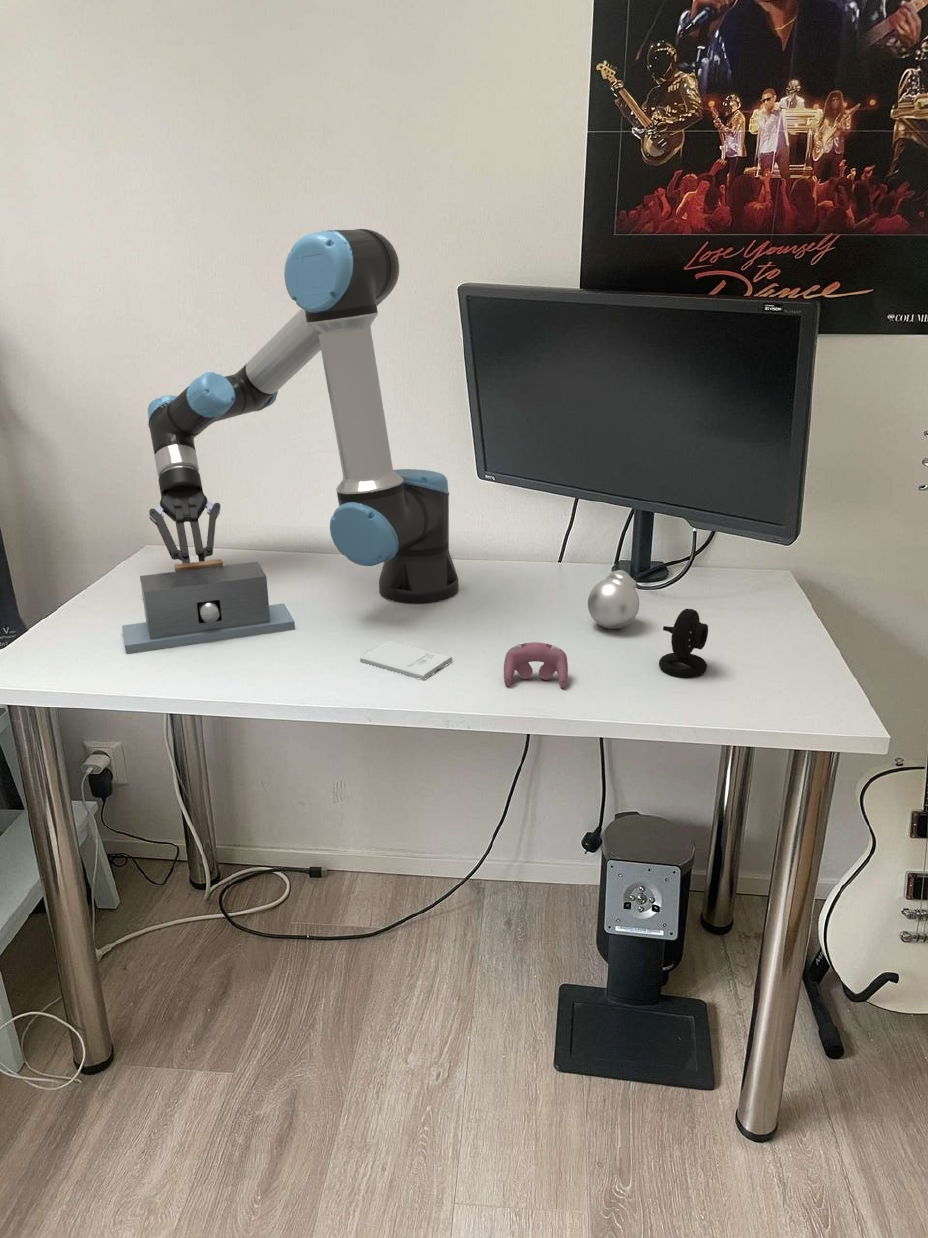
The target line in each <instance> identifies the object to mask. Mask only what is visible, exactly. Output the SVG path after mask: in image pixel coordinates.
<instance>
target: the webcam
mask: <svg viewBox="0 0 928 1238" xmlns="http://www.w3.org/2000/svg"><path fill="white" fill-rule="evenodd" d="M662 631H665V632H667V633H670V634H671V641H670V642H671V650H672V652H669V653H666V654H665V655H663V656H661V657H660V659H659V661H658V666H659V668H660V670H662V672H664V673H666V674H667V675H669V676H671V677H675V678H683V677H684V679H686V678H687V679H689V677H690V678H696V677H700V676H702V675H703V674H705V673H706V672H707V670H708V669H707V668H708V664H707V662H706V661H705V659H704V658H703V657H702V656H699V655H697V654H694V653H692V652H693V650H694V649H697V650H702V649H703V648H705V645H706V642H707V640H708V634H709V626H708V624H707V623H703V622H701V621H700V615H699V612H698V611H697V610H695V609H693V608H685V609H684V608H683V610H682V611H681V612H680V613H679V614H678V615H677V618H676V620H675V622H674V624H673V626H665V625H663V627H662ZM670 663H678V664H683V665H685V666H688V668H683V667H682V668H681V667H677V666H674V665H671V664H670Z"/></svg>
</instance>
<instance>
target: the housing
mask: <svg viewBox="0 0 928 1238" xmlns="http://www.w3.org/2000/svg"><path fill="white" fill-rule="evenodd" d="M267 579H268V578H267V575H266V573H265V572H264V570H263V568H262V567H261V564H260V563H259V561H251V562H243V563H234V564H228V565H227V564H226V565H223V566H217V567H209V568H201V569H193V570H185V571H177V572H175V571H171V572H169V571H168V572H160V573H154V574H146V575H145V574H144V575H139V580H140V587H141V596H142V602H143V603H142V604H143V610H144V616H145V622H139V623H131V624H122V625H121V628H122V635H123V640H124V647H125V652H126V655H127V654H135V653H140V652H142V653H143V652H148V651H154V650H162V649H169V648H176V647H177V648H178V647H183V646H188V645H189V646H190V645H198V644H204V643H210V642H217V641H223V640H224V641H225V640H229V639H232V640H233V639H237V638H238V639H239V638H243V637H244V638H245V637H252V636H257V635H264V634H265V633H266V634H273V633H278V632H279V631H280V632H285V631H292V630H296V622H295V620H294V617H293V616H292V615H291V613H290V611H289V610H288V608H287V606H286V604H285V603H284V602H283V603H276V604H270V603H269V591H268V580H267ZM214 600H215V603H216V605H217V608H218V610H219V613H220V615H219V618H218V619H217V620H216V621H215V622H212V623H208V622H205V621H204V620H203V619H202V617H201V614H200V612H199V609H198V607H197V603H199V602H206V601H214Z"/></svg>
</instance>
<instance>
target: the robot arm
mask: <svg viewBox="0 0 928 1238" xmlns="http://www.w3.org/2000/svg"><path fill="white" fill-rule="evenodd" d="M399 276H400V261H399V257H398V253H397V251H396V249H395V247H394V245H393V244H392V243H391V242H390V240H388V239H387V238H386V237H385V236H384V235H383V234H381V233H379V232H378V231H375V230H373V229H372V230H371V229H365V228H357V229H328V230H325V229H323V230H321V231H317V232H311V233H308V234H305V235H303V236H302V237H300V238H299V239H298V240H297V241H295V243H294V244H293V246H292V248H291V249H290V250H289V252H288V254H287V257H286V261H285V264H284V284H285V288H286V290H287V293H288V295H289V297H290V298H291V300H292V301H294V302H295V304H296V305H297V306H298V307H299V308H301V309H299V310H298V311H297V312H296V313H295V314H294V315H293V316H292V317H291V318H290V319H289V320H288V322H287V323H285V324H284V325H283V326H282V327H281V328H280V329H279V330H278V331H277V332H276V334H274V335H273V336H272V337H271V338H270V339H269V340H268V341H267V342H266V343H265V344H264V345H263V346H262V348H260V349H259V350H258V351H257V352H256V353H255V355H253V356H252V357H251V358H250V359H249V360H248V362H247V363H245V364H244V366H242V367H241V368H240V369H239V370H238V371H237V372H236V373H234V374H229V375H226V376H224V375H222V374H220V373H215V372H214V371H207V372H204V373H203V374H202V375H200V376H198V377H197V378H195V379H193V380H192V381H191V382H190V384H189V385H188V386H187V387H186V388H185V389H184V390H183V391H181V393H180V394H178V395H172V394H170V395H169V394H167V395H161V396H160V397H159V398H155V399H153V400H152V401H150V403H149V404H148V407H147V416H148V421H147V422H148V423H147V425H148V428H149V432H150V437H151V443H152V449H153V454H154V462H155V466H156V473H157V474H156V475H157V477H158V487H159V492H160V497H161V498H160V501H159V505H158V506H156V507H155V508H150V509H149V511H148V513H149V517H148V518H149V520H150V521H152V523H153V524H154V525H156V527H157V529H158V532H159V534H160V536H161V538H162V540H163V542H164V545H165V547H166V549H167V551H168V553H169V556H170V558H171V559H172V560H175V561H176V560H179V561H181V563H182V564H184V563H193V562H201V561H206V560H205V559H206V558H207V557H211V556H213V554H214V544H215V535H216V534H215V533H216V521H217V518H218V517H219V515H220V513H221V503H220V502H215V503H213V502H211V501H208V497H207V495H205V493H204V491H203V485H202V478H201V473H200V468H199V462H198V456H197V451H196V447H195V438H196V437H197V436H199V435H200V434H201V433H202V432H204V431H205V430H207V428H208V427H209V426H211V425H212V424H213V423H214V424H215V423H216V422H219V421H223V420H227V419H231V418H235V417H237V416H241V415H246V414H249V413H254V412H260V411H262V410H264V409H265V408H269V407H270V406H272V405H273V404H274V403H275V402H276V400H277V395H278V394H279V393H278V392H279V390H280V389H281V388H282V387H283V386H284V385H285V384H287V383H288V382H289V381H290V380H291V379H292V378H293V377H294V376H295V375H296V374H297V373H298V372H300V370H301V369H303V368H304V367H305V366H306V365H307V364H308V363H310V361H312V359H313V358H315V356H316V355H317V354H318V353H319V352H321V357H322V362H323V369H324V370H323V371H324V375H325V381H326V385H327V387H326V388H327V392H328V398H329V404H330V410H331V414H332V420H333V426H334V427H333V428H334V432H335V438H336V444H337V448H338V449H337V450H338V454H339V460H340V466H341V471H342V480H341V481H340V483H339V484H338V486H337V487H336V490H335V491H336V496H337V501H338V507H337V508H335V510H334V512H333V514H332V516H331V517H330V522H329V533H330V536H331V540H332V542H333V544H334V546H335V547H336V549H337V550H338V551H339V553H340V554H341V555H342V556H345V557H346V559H347V560H349V561H350V562H352V563H353V564H356V565H359V566H364V567H373V566H377V565H380V564H383V565H382V567H381V568H382V569H381V572H380V574H379V578H378V592H379V595H381V596H382V597H383V598H385V599H386V600H389V601H392V602H394V603H400V604H409V605H410V604H411V605H426V604H432V603H433V604H435V603H438V602H439V603H440V602H443V601H447V600H449V599H450V598H453V597H454V596H455V595H457V594H458V591H459V576H458V574H457V571H456V567H455V565H454V562H453V560H452V555H451V553H450V547H449V546H450V542H449V541H450V533H449V531H450V530H449V529H450V521H449V519H450V518H449V517H450V515H449V514H450V513H449V512H450V509H449V508H450V507H449V504H450V502H449V499H450V491H449V483H448V482H449V481H448V479H447V477H446V476H445V475H444V474H443V473H441V472H437V471H434V470H427V469H426V470H425V469H416V468H415V469H412V468H404V469H403V468H399V469H394V467H393V461H392V455H391V449H390V443H389V437H388V436H389V435H388V430H387V422H386V416H385V411H384V404H383V403H384V402H383V398H382V392H381V385H380V377H379V371H378V366H377V359H376V355H375V347H374V340H373V339H374V338H373V335H372V329H371V326H372V324H373V322H374V321H375V319H376V318H377V317H378V315H379V312H378V306H379V305H380V304H381V303H382V302H383V301H384V300H385V299H386V298H387V297H388V296H389V295H390V294H391V293H392V291H393V290H394V289H395V287H396V285H397V282H398V280H399ZM205 509H206V513H207V515H208V516H209V518H208V527H207V536H206V537H207V538H206V546H205V547H203V546H204V545H203V540H202V539H203V538H202V534H201V529H200V523H199V519H200V517H201V516H202V514H203V512H204V510H205ZM164 514H165V515H166V516H168V517H169V518H170V519H171V520H172V521H173V522H175V527H176V533H177V539H178V544H179V545H178V546H179V549H178V547H177V545H176V543H175V541H174V539H173V536H172V534H171V532H170V530H169V528H168V525H167V523H166V521H165V519H164V517H165V516H164ZM188 522H189V525H190V529H191V533H192V534H191V535H192V538H193V539H192V540H193V545H194V552H195V555H190V551H189V546H188V539H187V535H186V528H185V523H188Z"/></svg>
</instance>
